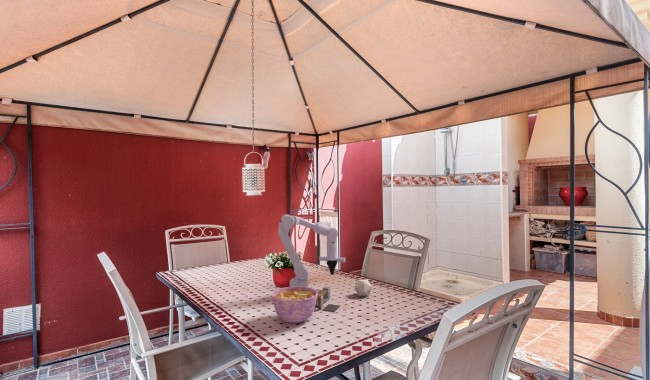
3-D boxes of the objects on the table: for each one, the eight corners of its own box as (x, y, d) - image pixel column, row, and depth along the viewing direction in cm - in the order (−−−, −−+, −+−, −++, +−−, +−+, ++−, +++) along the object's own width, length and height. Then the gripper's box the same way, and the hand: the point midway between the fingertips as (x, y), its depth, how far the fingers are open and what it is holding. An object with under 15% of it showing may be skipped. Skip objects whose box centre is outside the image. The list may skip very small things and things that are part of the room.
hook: (300, 305, 156) (300, 293, 156) (312, 296, 169) (312, 285, 169) (318, 308, 152) (318, 295, 152) (330, 298, 166) (330, 286, 166)
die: (367, 300, 163) (376, 283, 167) (351, 291, 165) (361, 274, 168) (365, 301, 171) (373, 284, 175) (350, 292, 173) (359, 276, 176)
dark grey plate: (322, 310, 149) (322, 309, 149) (328, 304, 157) (328, 304, 157) (334, 312, 147) (334, 311, 147) (340, 306, 155) (340, 305, 155)
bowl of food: (276, 311, 149) (276, 286, 149) (319, 311, 149) (319, 286, 149) (267, 329, 129) (267, 301, 129) (317, 329, 129) (316, 300, 129)
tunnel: (308, 308, 152) (308, 294, 152) (316, 302, 160) (315, 289, 160) (320, 310, 150) (320, 295, 150) (327, 304, 157) (327, 290, 157)
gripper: (317, 250, 174) (317, 275, 174) (343, 251, 169) (343, 277, 169) (321, 248, 180) (321, 272, 180) (346, 249, 176) (346, 273, 176)
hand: (332, 274), depth 175 cm, fingers closed
